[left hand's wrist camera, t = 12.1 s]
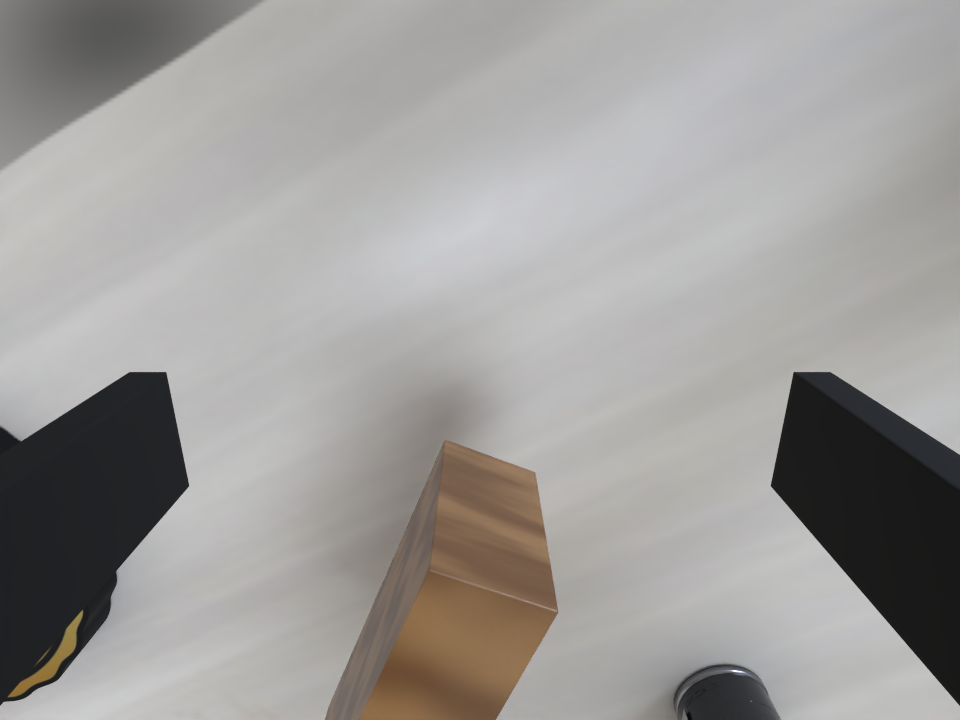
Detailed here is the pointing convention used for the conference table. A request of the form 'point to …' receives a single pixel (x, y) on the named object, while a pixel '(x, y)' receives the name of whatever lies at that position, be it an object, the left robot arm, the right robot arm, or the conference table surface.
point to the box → (455, 599)
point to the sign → (71, 638)
